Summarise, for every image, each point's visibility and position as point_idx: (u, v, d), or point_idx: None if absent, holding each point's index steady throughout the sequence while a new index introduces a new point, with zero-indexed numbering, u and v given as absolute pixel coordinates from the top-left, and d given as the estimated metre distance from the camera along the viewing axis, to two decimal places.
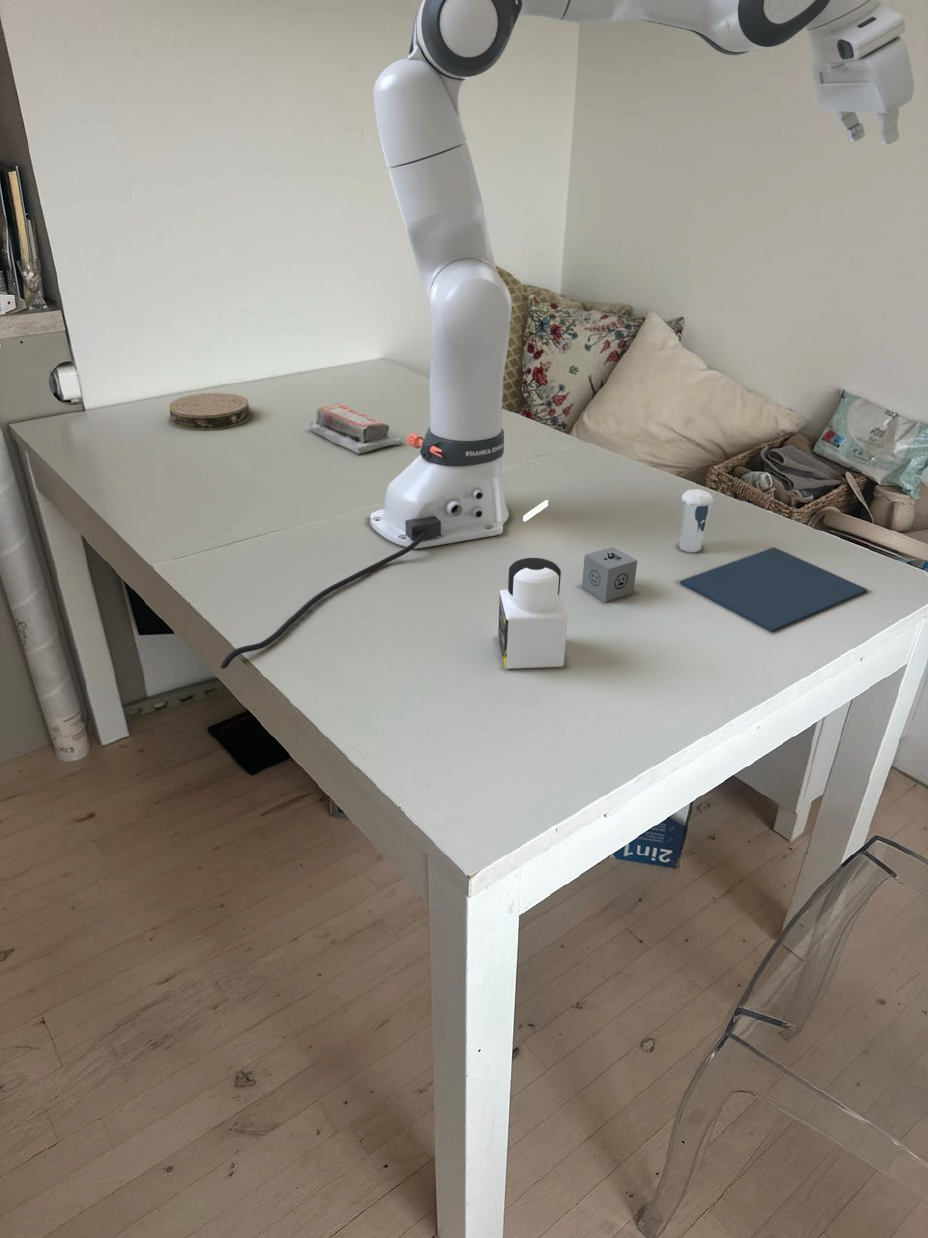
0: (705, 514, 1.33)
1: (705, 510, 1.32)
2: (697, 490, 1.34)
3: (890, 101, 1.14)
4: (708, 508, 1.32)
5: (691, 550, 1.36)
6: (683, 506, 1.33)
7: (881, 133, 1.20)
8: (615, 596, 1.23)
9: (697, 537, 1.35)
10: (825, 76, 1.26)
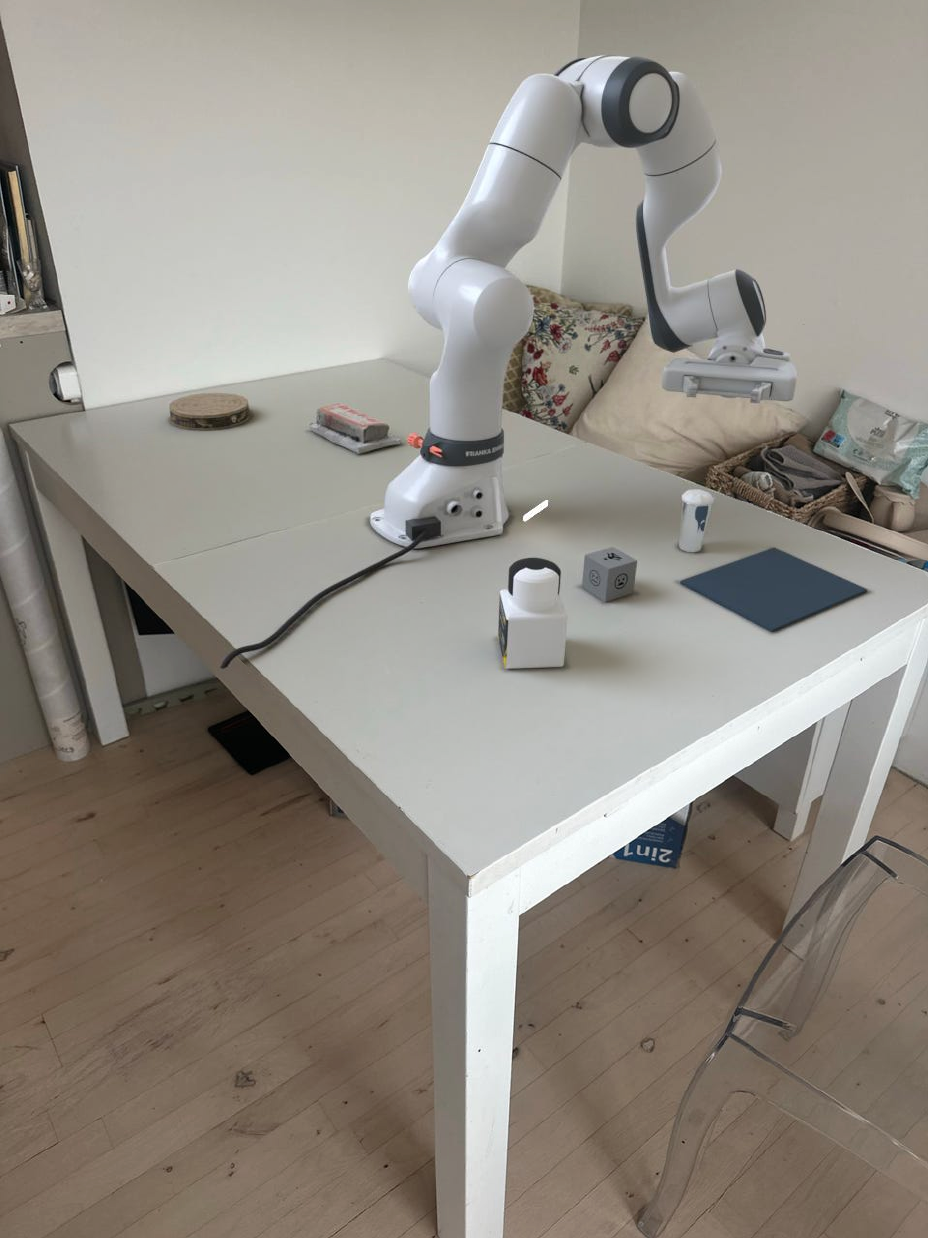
0: (705, 514, 1.33)
1: (705, 510, 1.32)
2: (697, 490, 1.34)
3: (796, 379, 1.38)
4: (708, 508, 1.32)
5: (691, 550, 1.36)
6: (683, 506, 1.33)
7: (757, 388, 1.36)
8: (615, 596, 1.23)
9: (697, 537, 1.35)
10: (694, 364, 1.45)
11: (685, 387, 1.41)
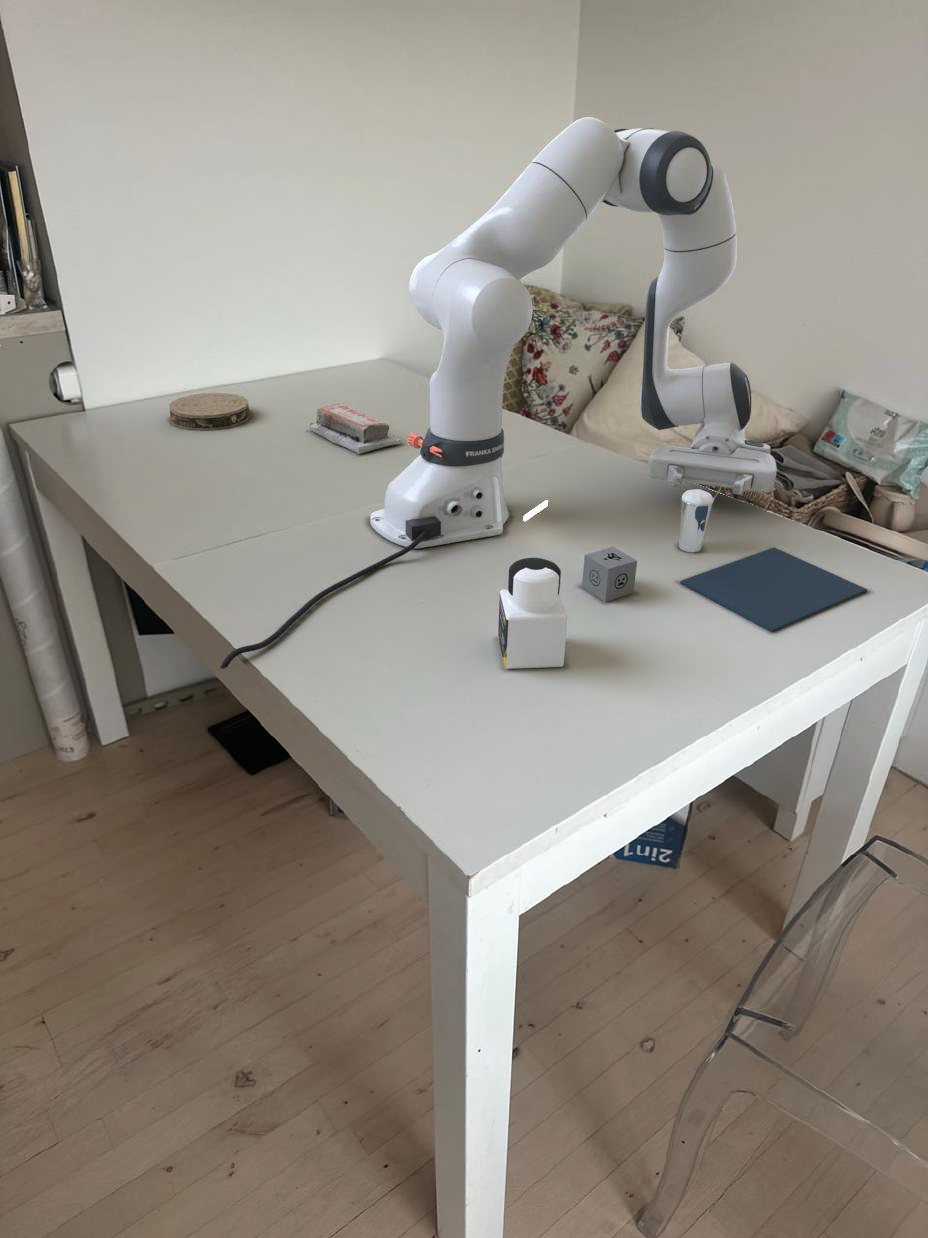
0: (705, 514, 1.33)
1: (705, 510, 1.32)
2: (697, 490, 1.34)
3: (776, 472, 1.44)
4: (708, 508, 1.32)
5: (691, 550, 1.36)
6: (683, 506, 1.33)
7: (739, 480, 1.42)
8: (615, 596, 1.23)
9: (697, 537, 1.35)
10: (678, 452, 1.51)
11: (670, 476, 1.46)
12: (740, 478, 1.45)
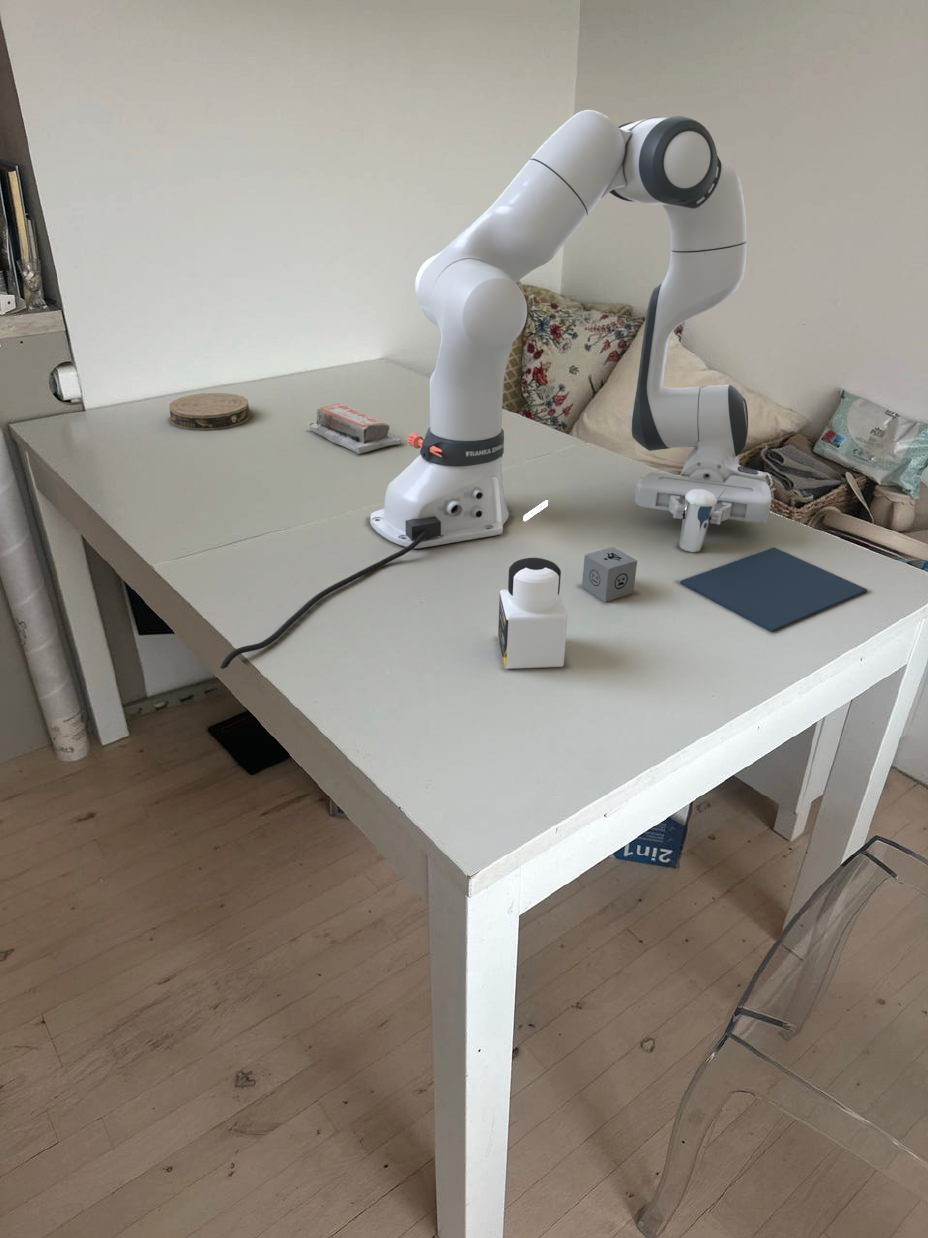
0: (708, 514, 1.32)
1: (708, 511, 1.32)
2: (701, 490, 1.34)
3: None
4: (711, 509, 1.32)
5: (691, 550, 1.36)
6: (686, 505, 1.33)
7: (717, 509, 1.34)
8: (615, 596, 1.23)
9: (698, 537, 1.34)
10: (667, 479, 1.42)
11: (671, 507, 1.37)
12: (719, 506, 1.37)
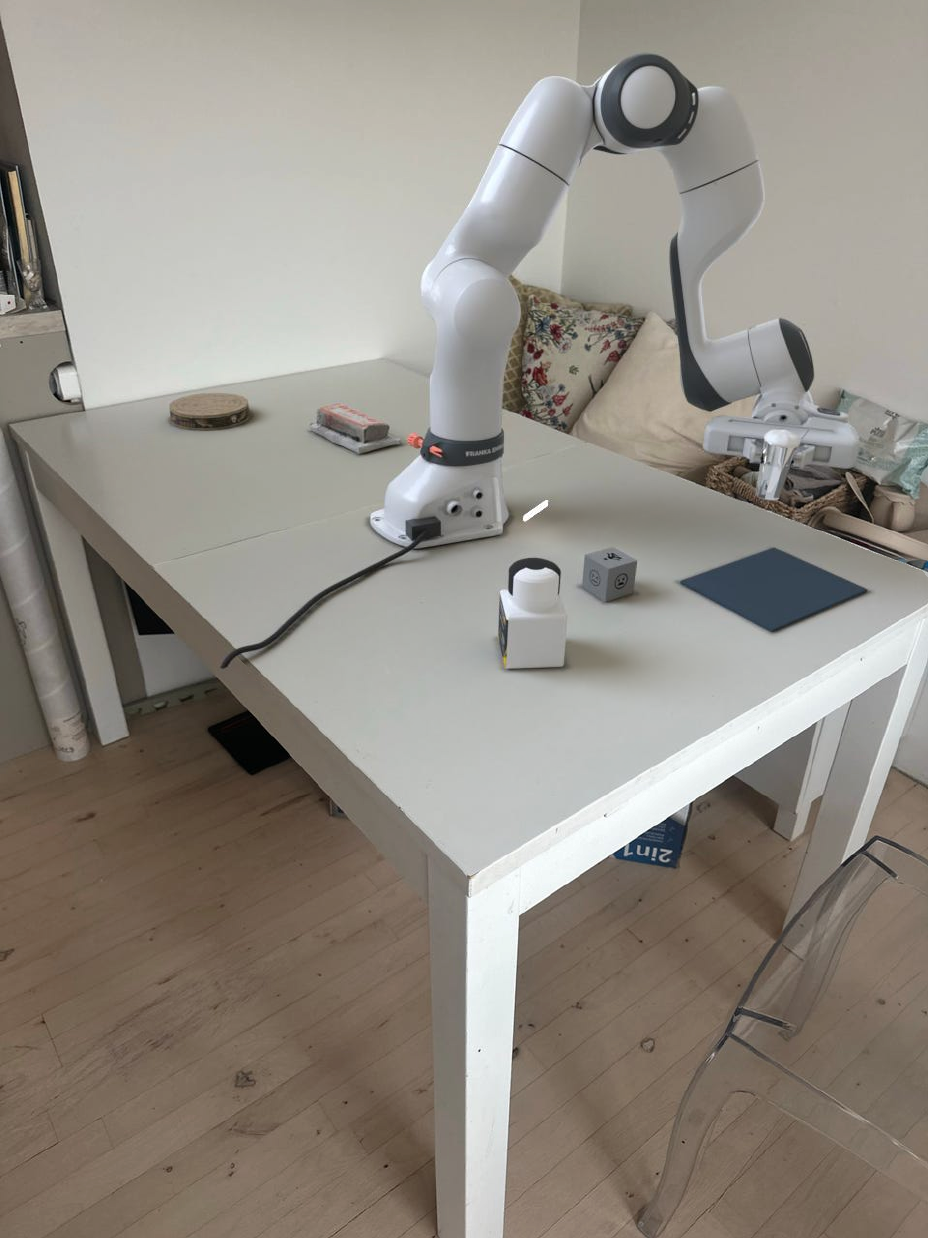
0: (790, 457, 1.18)
1: (791, 453, 1.18)
2: (782, 430, 1.19)
3: None
4: (794, 451, 1.18)
5: (770, 498, 1.21)
6: (766, 447, 1.19)
7: (799, 452, 1.20)
8: (615, 596, 1.23)
9: (778, 483, 1.20)
10: (739, 422, 1.28)
11: (747, 451, 1.23)
12: (799, 450, 1.23)
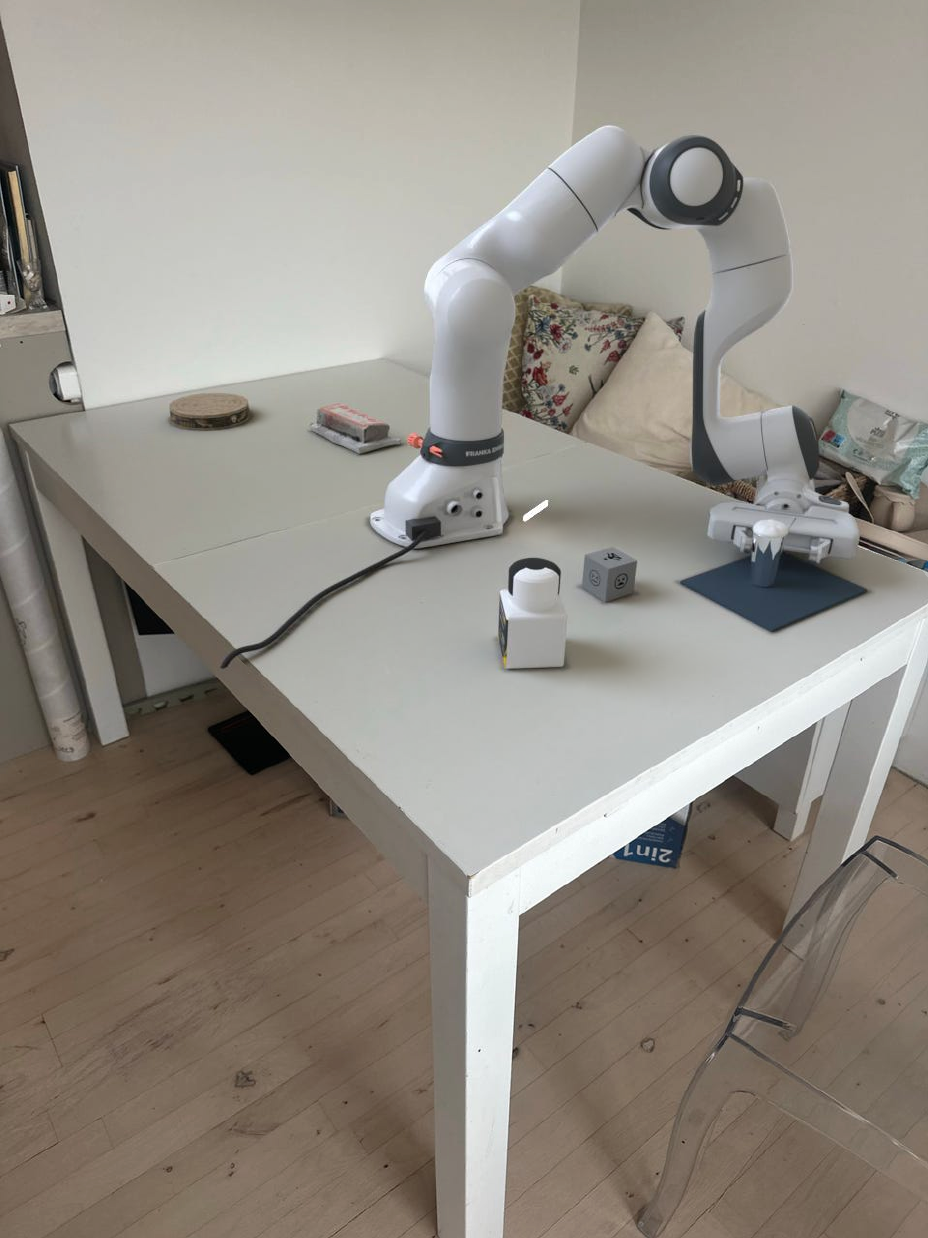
0: (780, 546, 1.22)
1: (780, 542, 1.22)
2: (769, 520, 1.23)
3: (859, 537, 1.25)
4: (783, 540, 1.22)
5: (765, 585, 1.25)
6: (755, 539, 1.23)
7: (815, 547, 1.23)
8: (615, 596, 1.23)
9: (771, 571, 1.24)
10: (742, 510, 1.32)
11: (737, 540, 1.27)
12: (815, 542, 1.26)
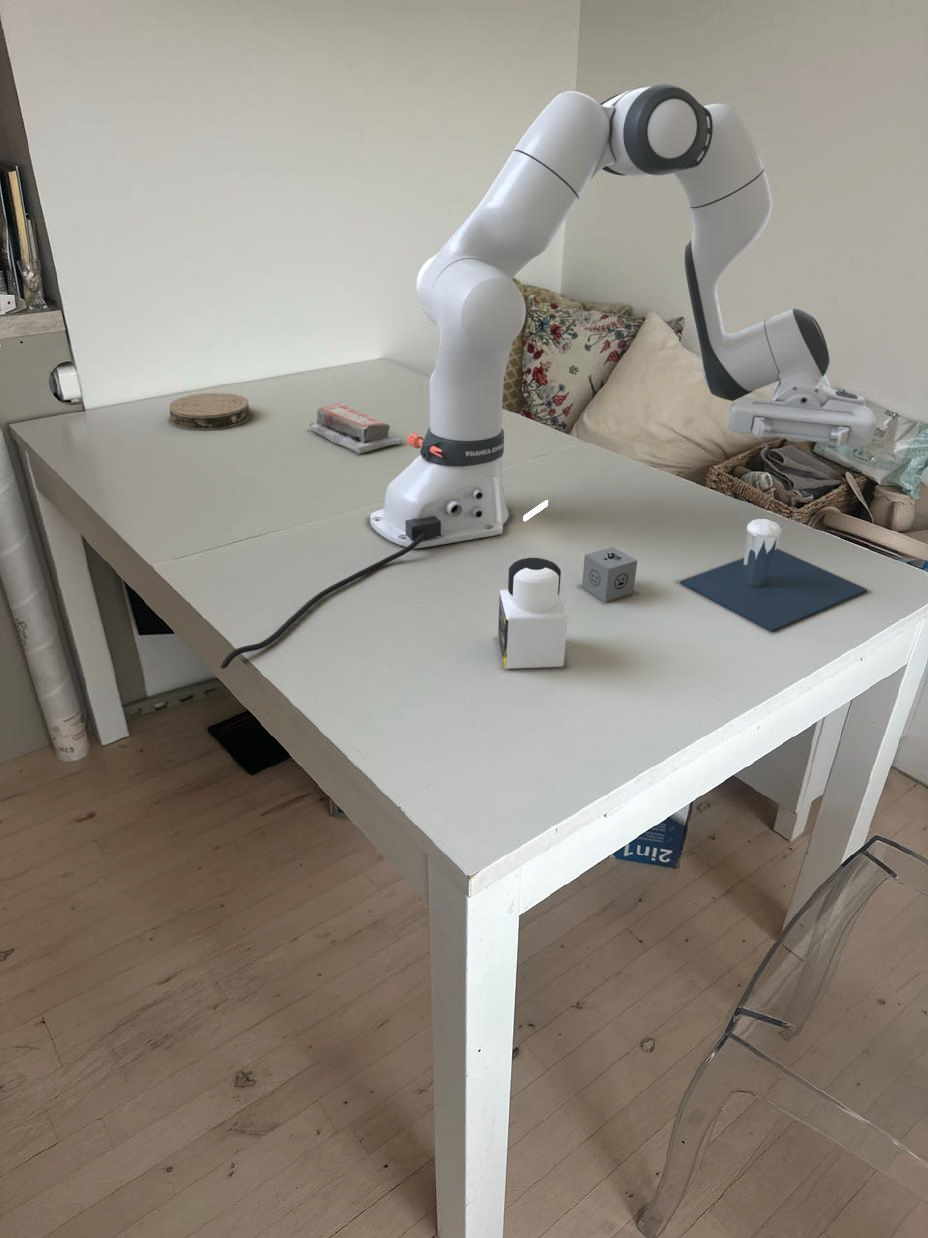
0: (773, 546, 1.22)
1: (773, 542, 1.22)
2: (763, 520, 1.24)
3: (875, 425, 1.29)
4: (776, 540, 1.22)
5: (756, 584, 1.26)
6: (749, 537, 1.23)
7: (835, 433, 1.27)
8: (615, 596, 1.23)
9: (763, 570, 1.24)
10: (762, 404, 1.36)
11: (756, 429, 1.31)
12: (834, 431, 1.30)
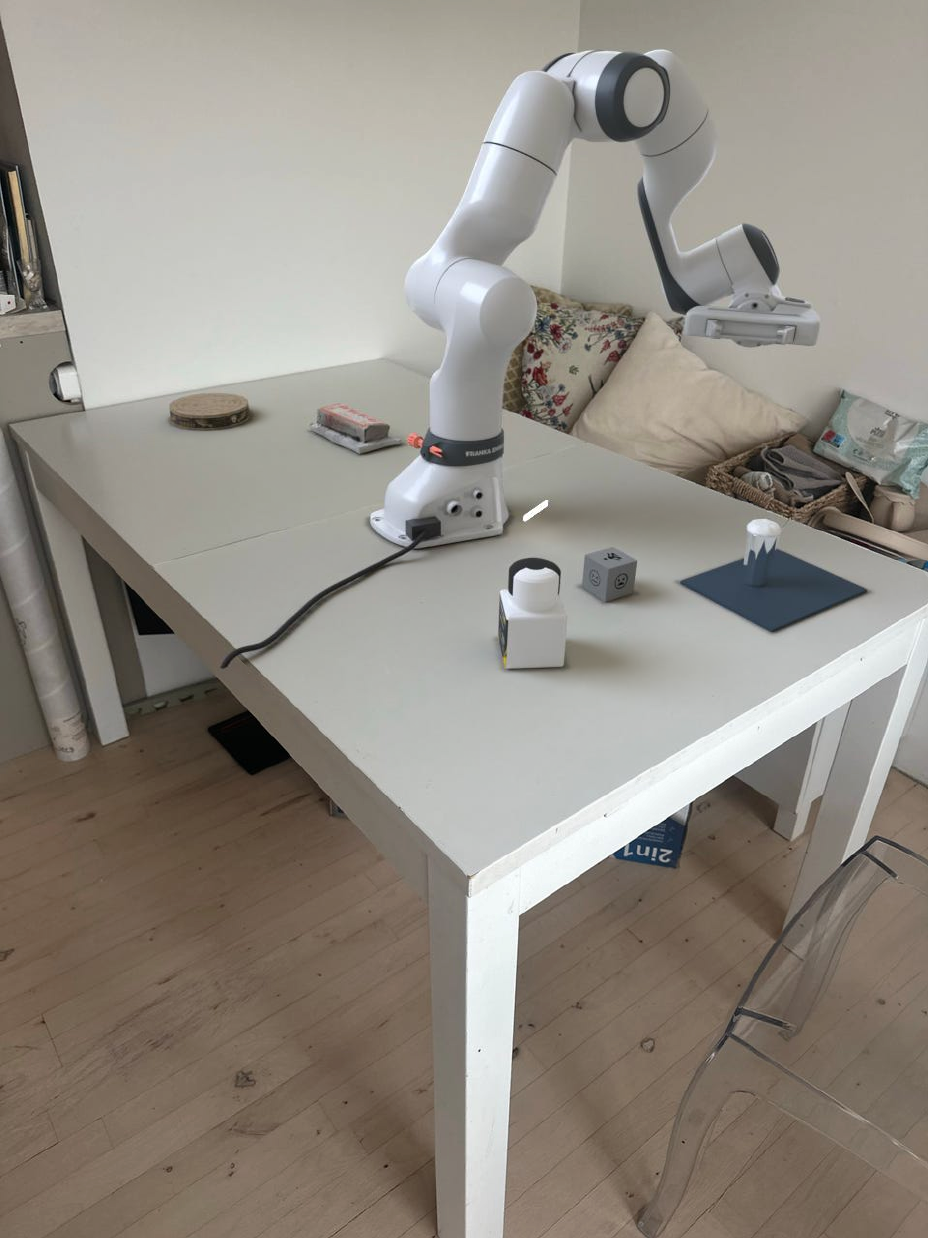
0: (773, 546, 1.22)
1: (773, 542, 1.22)
2: (763, 520, 1.24)
3: None
4: (776, 540, 1.22)
5: (756, 584, 1.26)
6: (749, 537, 1.23)
7: (781, 330, 1.36)
8: (615, 596, 1.23)
9: (763, 570, 1.24)
10: (716, 310, 1.45)
11: (709, 330, 1.41)
12: None
